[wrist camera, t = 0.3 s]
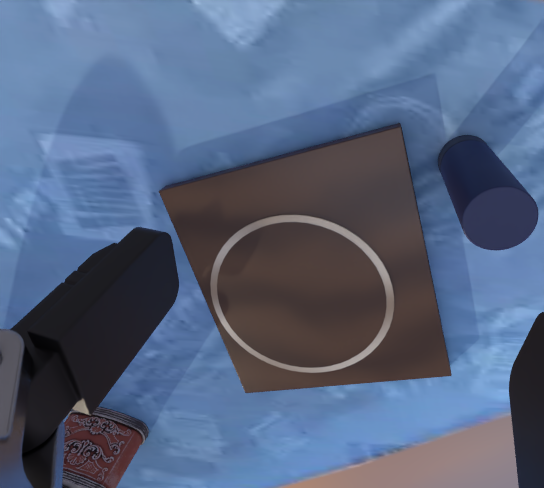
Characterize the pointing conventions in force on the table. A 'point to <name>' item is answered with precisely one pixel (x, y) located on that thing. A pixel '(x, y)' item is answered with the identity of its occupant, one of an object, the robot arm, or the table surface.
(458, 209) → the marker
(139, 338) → the robot arm
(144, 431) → the lighter
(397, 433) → the table surface
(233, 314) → the brown wooden board
